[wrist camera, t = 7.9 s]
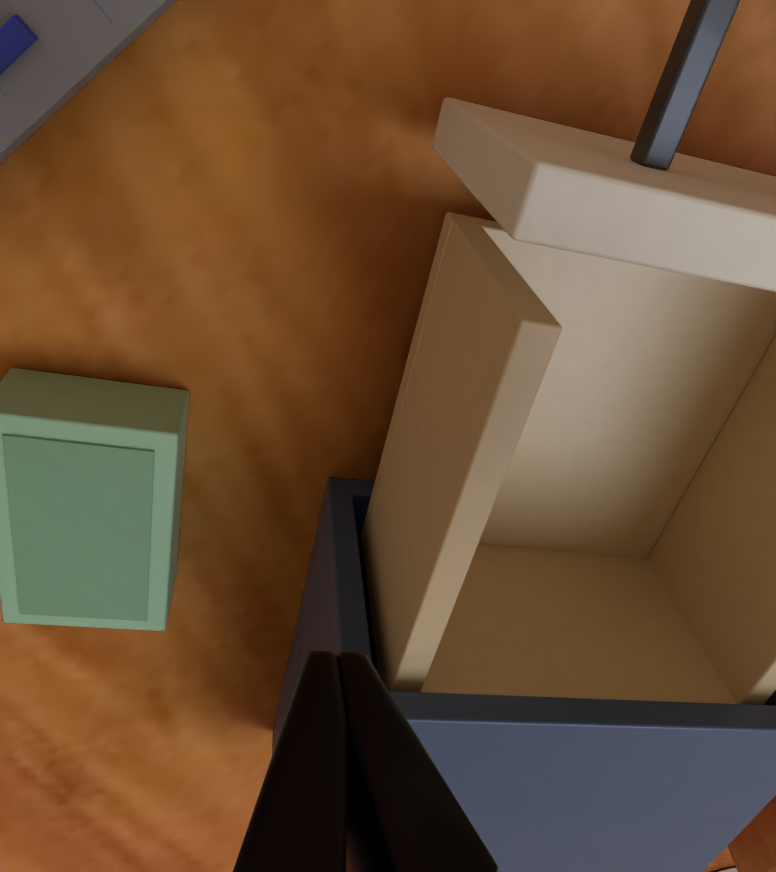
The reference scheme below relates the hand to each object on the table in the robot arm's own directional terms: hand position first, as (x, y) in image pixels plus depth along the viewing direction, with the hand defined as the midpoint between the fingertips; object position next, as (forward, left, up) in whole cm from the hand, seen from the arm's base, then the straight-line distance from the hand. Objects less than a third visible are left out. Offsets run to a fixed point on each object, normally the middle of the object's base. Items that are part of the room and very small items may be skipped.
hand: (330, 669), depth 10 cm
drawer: (+8, +2, -11) cm, 14 cm away
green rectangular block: (-6, -7, -12) cm, 15 cm away
